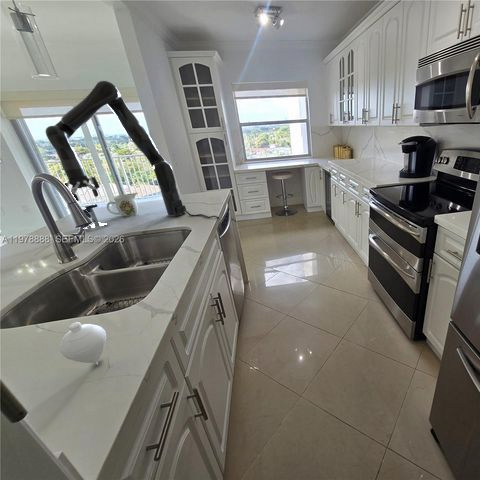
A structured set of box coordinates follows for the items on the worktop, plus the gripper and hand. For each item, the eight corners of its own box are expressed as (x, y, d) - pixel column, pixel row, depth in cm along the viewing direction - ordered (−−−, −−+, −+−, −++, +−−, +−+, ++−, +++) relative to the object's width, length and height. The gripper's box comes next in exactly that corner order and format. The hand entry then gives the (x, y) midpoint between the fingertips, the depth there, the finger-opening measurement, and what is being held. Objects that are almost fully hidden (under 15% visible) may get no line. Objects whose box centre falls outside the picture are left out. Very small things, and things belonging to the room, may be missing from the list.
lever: (98, 207, 142) (95, 203, 142) (87, 209, 138) (85, 205, 138) (91, 212, 149) (89, 208, 149) (81, 214, 145) (79, 210, 145)
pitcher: (112, 217, 166) (103, 196, 160) (144, 211, 175) (137, 191, 169) (111, 221, 158) (102, 200, 152) (145, 215, 167) (138, 194, 161)
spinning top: (68, 373, 58) (41, 333, 53) (104, 348, 64) (83, 309, 59) (89, 383, 55) (63, 342, 50) (124, 355, 61) (104, 316, 56)
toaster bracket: (107, 225, 151) (99, 206, 146) (89, 231, 144) (80, 211, 139) (97, 223, 156) (89, 204, 152) (79, 228, 149) (70, 209, 144)
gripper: (58, 170, 125) (74, 202, 132) (92, 165, 136) (105, 195, 143) (52, 170, 128) (67, 201, 135) (86, 165, 139) (99, 194, 146)
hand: (87, 198), depth 139 cm, fingers open, 8 cm apart
